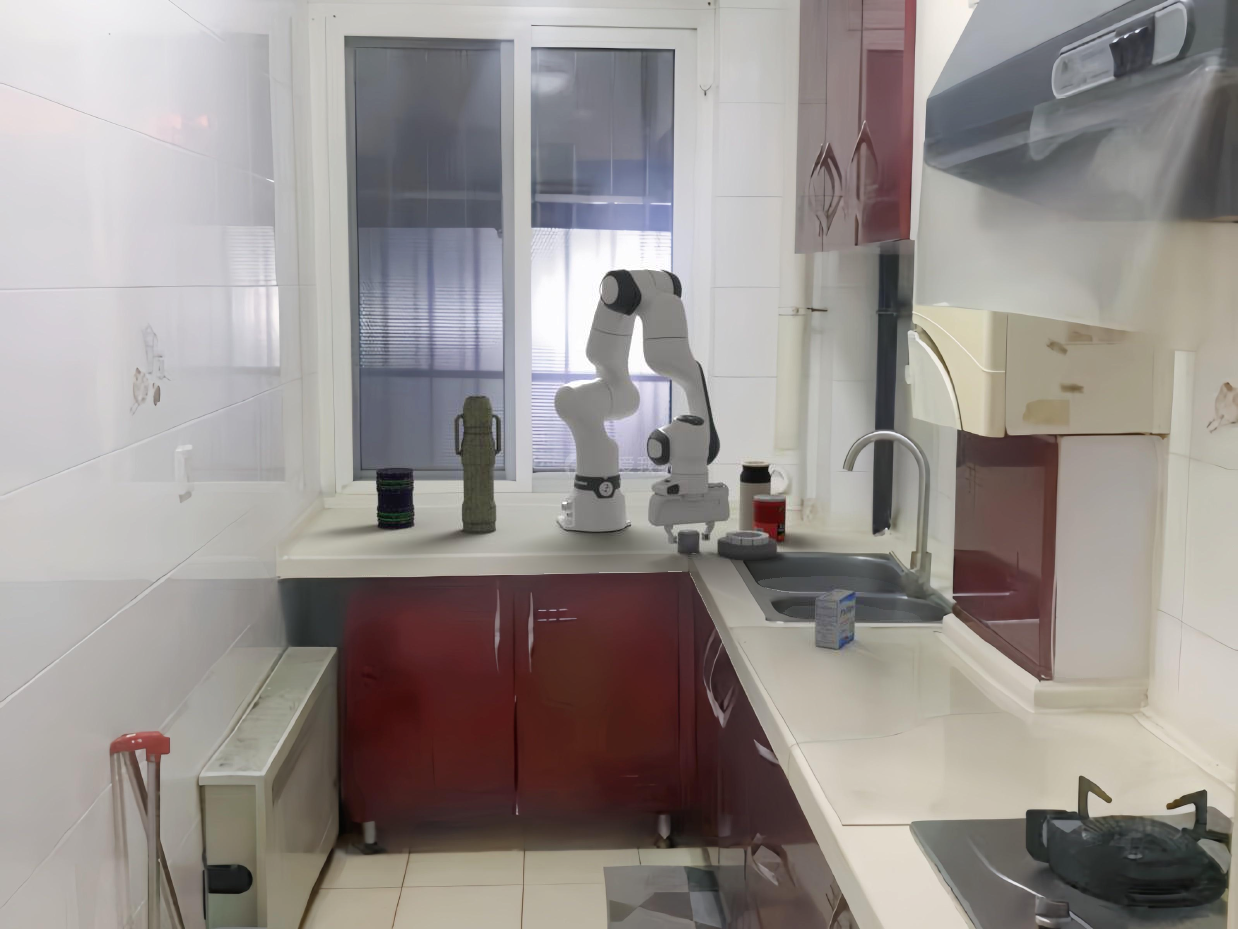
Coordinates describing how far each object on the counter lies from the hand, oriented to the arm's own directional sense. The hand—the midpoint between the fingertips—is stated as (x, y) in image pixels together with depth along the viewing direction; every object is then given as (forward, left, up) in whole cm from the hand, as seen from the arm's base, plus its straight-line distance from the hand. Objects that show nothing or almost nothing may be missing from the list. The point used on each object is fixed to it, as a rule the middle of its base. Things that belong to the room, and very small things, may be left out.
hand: (689, 541), depth 268 cm
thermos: (-44, -39, -3) cm, 59 cm away
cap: (0, 0, -2) cm, 2 cm away
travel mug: (-16, +27, -3) cm, 31 cm away
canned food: (-5, +25, -3) cm, 26 cm away
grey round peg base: (+7, +12, -2) cm, 14 cm away
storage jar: (-58, -58, -3) cm, 82 cm away
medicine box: (+76, -9, -3) cm, 76 cm away
